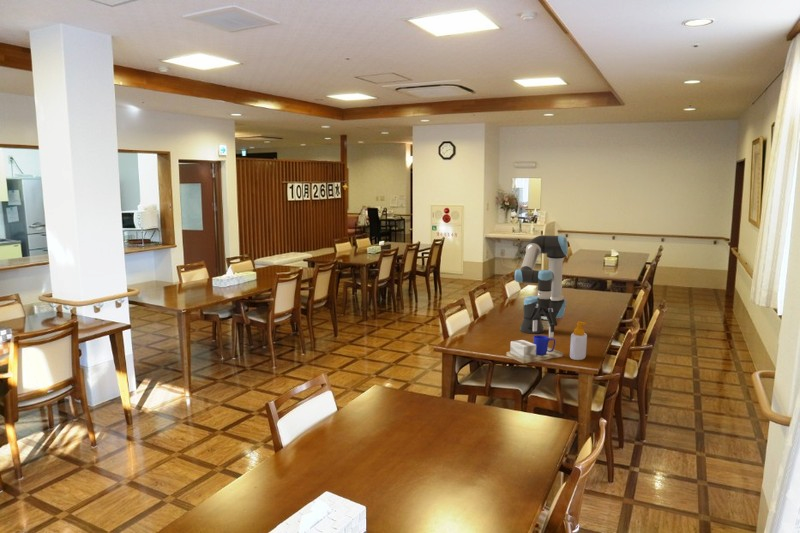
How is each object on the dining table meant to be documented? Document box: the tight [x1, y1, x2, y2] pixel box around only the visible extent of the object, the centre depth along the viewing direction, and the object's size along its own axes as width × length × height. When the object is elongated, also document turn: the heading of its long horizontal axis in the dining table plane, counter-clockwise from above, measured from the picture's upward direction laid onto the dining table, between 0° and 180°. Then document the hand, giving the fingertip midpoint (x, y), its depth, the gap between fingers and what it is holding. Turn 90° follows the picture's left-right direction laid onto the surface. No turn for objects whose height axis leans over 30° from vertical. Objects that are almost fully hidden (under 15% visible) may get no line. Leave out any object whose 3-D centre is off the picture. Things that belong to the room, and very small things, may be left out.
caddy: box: [505, 339, 564, 364], centre depth 311 cm, size 28×15×9 cm, turn 117°
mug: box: [533, 334, 556, 355], centre depth 312 cm, size 8×12×10 cm
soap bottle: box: [569, 321, 588, 361], centre depth 309 cm, size 13×8×20 cm, turn 148°
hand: (542, 334), depth 312 cm, fingers open, 13 cm apart
